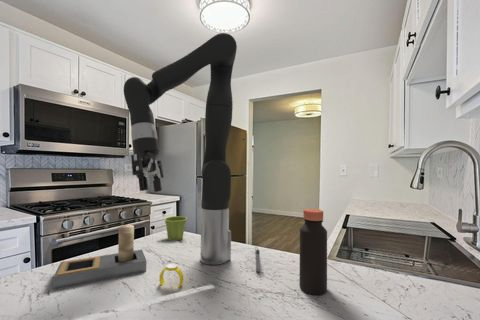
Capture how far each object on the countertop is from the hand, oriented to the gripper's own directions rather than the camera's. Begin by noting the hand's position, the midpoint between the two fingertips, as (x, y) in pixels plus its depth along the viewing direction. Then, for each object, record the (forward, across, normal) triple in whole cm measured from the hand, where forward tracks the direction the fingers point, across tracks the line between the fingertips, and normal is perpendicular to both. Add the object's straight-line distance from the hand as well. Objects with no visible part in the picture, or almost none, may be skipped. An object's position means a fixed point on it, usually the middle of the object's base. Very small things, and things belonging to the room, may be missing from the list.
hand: (151, 191), depth 70 cm
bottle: (+34, -1, -40) cm, 52 cm away
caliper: (+28, +16, -26) cm, 42 cm away
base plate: (+21, -2, +16) cm, 26 cm away
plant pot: (+18, +32, +8) cm, 38 cm away
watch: (+27, -6, -5) cm, 28 cm away
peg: (+20, +1, +11) cm, 23 cm away
